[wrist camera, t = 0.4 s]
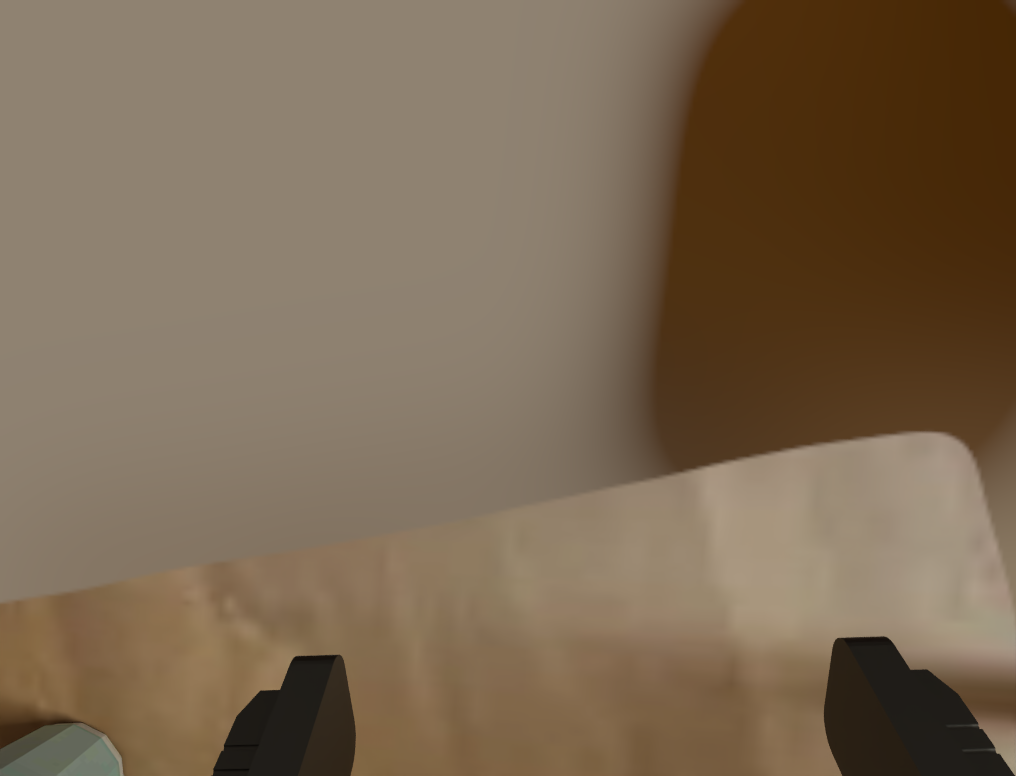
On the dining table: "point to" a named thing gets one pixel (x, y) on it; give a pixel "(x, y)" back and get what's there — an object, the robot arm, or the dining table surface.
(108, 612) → the dining table surface
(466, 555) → the dining table surface
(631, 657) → the dining table surface
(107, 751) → the disposable coffee cup
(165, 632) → the dining table surface
